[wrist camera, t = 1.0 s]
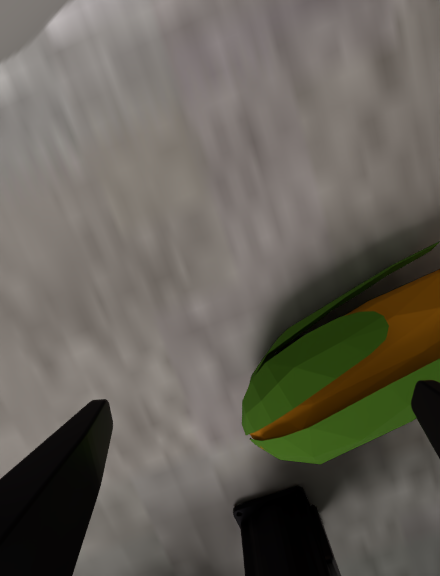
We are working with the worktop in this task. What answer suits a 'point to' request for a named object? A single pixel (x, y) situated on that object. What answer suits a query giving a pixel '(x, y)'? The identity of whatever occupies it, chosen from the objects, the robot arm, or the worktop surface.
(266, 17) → the worktop surface
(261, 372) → the corn
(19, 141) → the worktop surface
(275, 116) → the worktop surface
